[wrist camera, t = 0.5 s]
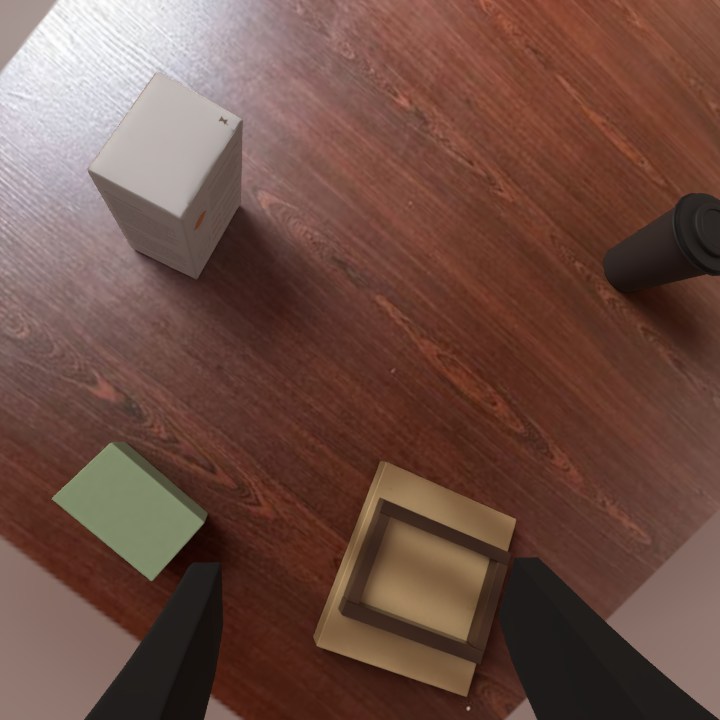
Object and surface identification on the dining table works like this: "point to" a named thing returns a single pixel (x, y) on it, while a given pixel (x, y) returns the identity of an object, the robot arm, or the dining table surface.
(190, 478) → the dining table surface
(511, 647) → the robot arm
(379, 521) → the wooden base with frame
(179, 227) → the small box
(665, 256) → the coffee cup
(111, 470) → the green rectangular block
